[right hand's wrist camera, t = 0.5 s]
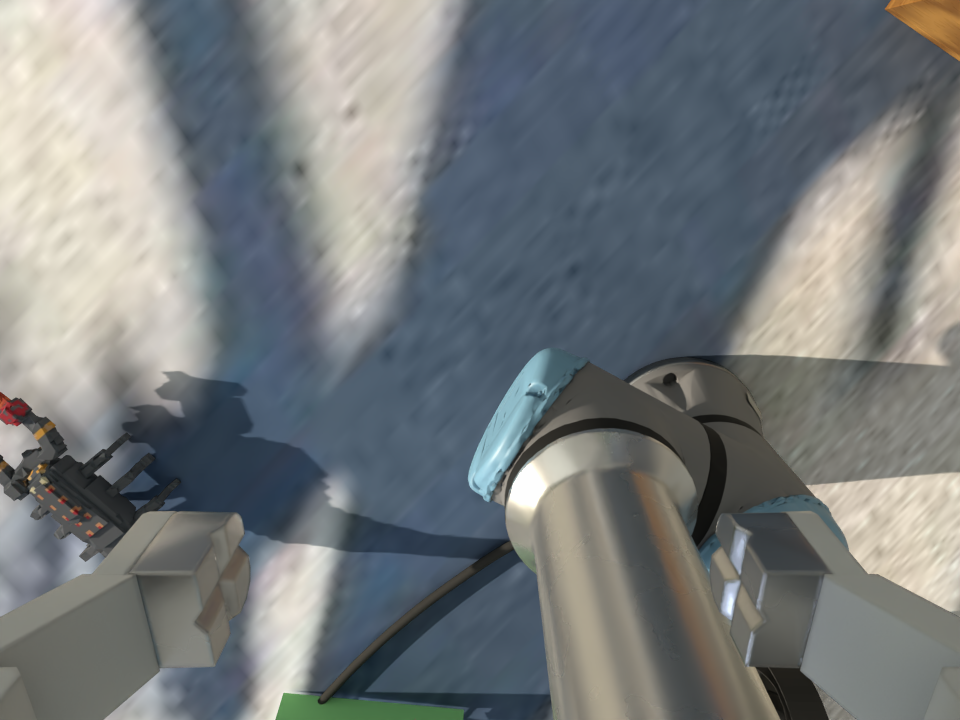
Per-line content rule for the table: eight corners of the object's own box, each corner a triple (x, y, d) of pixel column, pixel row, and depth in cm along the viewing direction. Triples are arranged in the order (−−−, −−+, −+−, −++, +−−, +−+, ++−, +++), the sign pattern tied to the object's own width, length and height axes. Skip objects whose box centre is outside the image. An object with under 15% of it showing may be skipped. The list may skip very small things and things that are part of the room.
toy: (159, 599, 71) (57, 755, 54) (-44, 431, 63) (-240, 550, 46) (244, 539, 68) (164, 683, 50) (41, 355, 60) (-134, 452, 43)
